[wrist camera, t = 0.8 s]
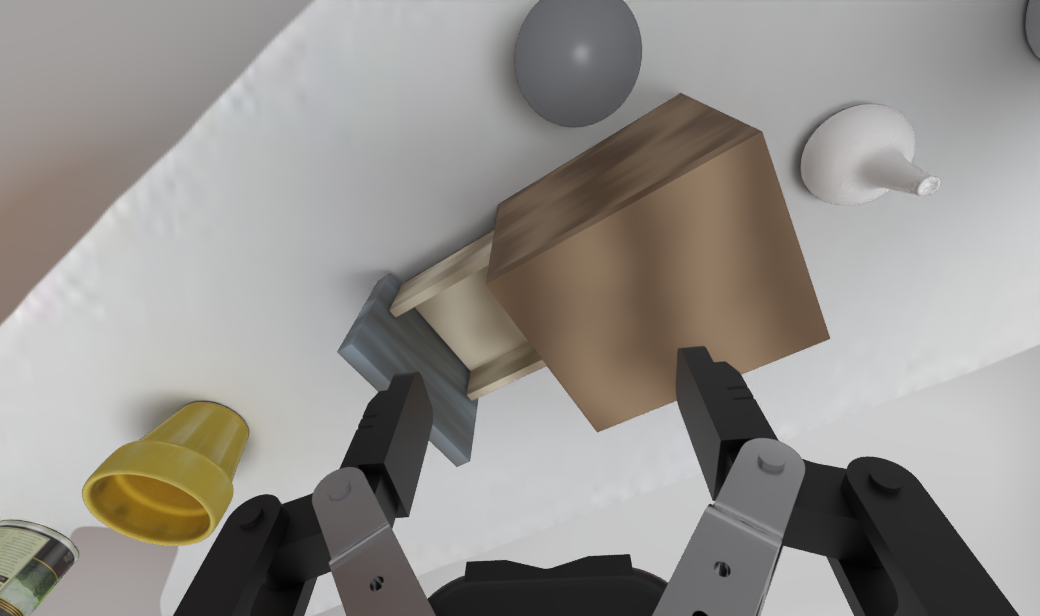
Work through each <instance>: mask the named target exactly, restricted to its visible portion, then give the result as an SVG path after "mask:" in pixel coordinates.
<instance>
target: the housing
mask: <svg viewBox="0 0 1040 616" xmlns="http://www.w3.org/2000/svg"><path fill="white" fill-rule="evenodd" d="M485 285H486V286H487V287H488V289H489V290H490V291H491V293H492V294H493V295H494V297H495V298H496V299H497V300H498V302H499V303H500V304H501V306H502V307H503V308H504V310H505V311H506V312H507V314H508V315H509V316H510V318H511V319H512V320H513V322H514V323H515V324H516V326H517V327H518V328H519V330H520V331H521V332H522V334H523V335H524V336H525V338H526V339H527V340H528V341H529V343H530V344H531V345H532V347H533V348H534V349H535V351H536V352H537V353H538V355H539V356H540V357H541V359H542V360H543V361H544V363H545V364H546V365H547V367H548V368H549V369H550V371H551V372H552V373H553V375H554V376H555V377H556V378H557V380H558V381H559V382H560V384H561V385H562V386H563V388H564V389H565V390H566V392H567V393H568V394H569V396H570V397H571V398H572V400H573V401H574V402H575V404H576V405H577V406H578V408H579V409H580V410H581V412H582V413H583V414H584V416H585V417H586V418H587V419H588V421H589V422H590V423H591V425H592V426H593V427H594V429H595V430H596V431H597V432H600V431H602V430H605V429H607V428H610V427H612V426H615V425H617V424H619V423H622V422H624V421H627V420H629V419H632V418H634V417H637V416H639V415H642V414H644V413H647V412H649V411H652V410H654V409H657V408H659V407H662V406H664V405H667V404H669V403H672V402H674V401H677V397H676V367H677V351H678V349H679V348H686V347H697V346H705V347H706V348H707V350H708V352H709V354H710V356H711V358H712V360H713V362H722V361H726V362H727V363H728V364H730V365H731V366H732V367H734V368H735V369H736V370H737V371H739V372H740V374H744V373H746V372H749V371H751V370H754V369H756V368H759V367H761V366H764V365H766V364H769V363H771V362H774V361H776V360H779V359H781V358H784V357H786V356H789V355H791V354H794V353H796V352H799V351H801V350H804V349H806V348H809V347H811V346H813V345H816V344H818V343H821V342H823V341H826V340H828V339H830V336H829V333H828V330H827V327H826V324H825V321H824V318H823V315H822V312H821V309H820V306H819V303H818V300H817V297H816V294H815V291H814V288H813V285H812V282H811V279H810V276H809V273H808V270H807V267H806V263H805V260H804V257H803V254H802V251H801V248H800V245H799V242H798V239H797V236H796V233H795V230H794V227H793V224H792V221H791V218H790V215H789V212H788V209H787V206H786V203H785V200H784V197H783V194H782V191H781V188H780V184H779V181H778V178H777V175H776V172H775V169H774V166H773V163H772V160H771V157H770V154H769V151H768V148H767V145H766V142H765V139H764V136H763V133H762V131H760V130H758V129H756V128H754V127H751V126H749V125H747V124H745V123H743V122H741V121H739V120H737V119H735V118H732V117H730V116H728V115H726V114H724V113H722V112H720V111H718V110H716V109H713V108H711V107H709V106H707V105H705V104H703V103H701V102H699V101H697V100H694V99H692V98H690V97H688V96H686V95H684V94H682V93H680V94H679V95H677V96H676V97H674V98H672V99H671V100H669V101H667V102H666V103H664V104H662V105H661V106H659V107H657V108H656V109H654V110H653V111H651V112H649V113H648V114H646V115H644V116H643V117H641V118H639V119H638V120H636V121H634V122H633V123H631V124H630V125H628V126H626V127H625V128H623V129H621V130H620V131H618V132H616V133H615V134H613V135H611V136H610V137H608V138H607V139H605V140H603V141H602V142H600V143H598V144H597V145H595V146H593V147H592V148H590V149H589V150H587V151H585V152H584V153H582V154H580V155H579V156H577V157H575V158H574V159H572V160H570V161H569V162H567V163H566V164H564V165H562V166H561V167H559V168H557V169H556V170H554V171H552V172H551V173H549V174H547V175H546V176H544V177H543V178H541V179H539V180H538V181H536V182H534V183H533V184H531V185H529V186H528V187H526V188H525V189H523V190H521V191H520V192H518V193H516V194H515V195H513V196H511V197H510V198H508V199H506V200H505V201H503V202H502V203H500V204H499V205H498V211H497V217H496V223H495V229H494V236H493V242H492V248H491V254H490V260H489V266H488V272H487V278H486V284H485Z"/></svg>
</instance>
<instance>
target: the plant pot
mask: <svg viewBox="0 0 1040 616" xmlns="http://www.w3.org/2000/svg"><path fill="white" fill-rule="evenodd" d="M248 435H249V431H248V427H247V425H246V423H245V422H244V420H243V419H242V418H241V417H240V416H239V415H238V414H237V413H235V412H234V411H232V410H231V409H229V408H227V407H225V406H222V405H219V404H216V403H212V402H194V403H190V404H188V405H186V406H184V407H183V408H181V409H180V410H179V411H177V412H176V413H175V414H173V415H172V416H171V417H169V418H168V419H167V420H165V421H164V422H163V423H161V424H160V425H159V426H157V427H156V428H155V429H153V430H152V431H151V432H149V433H148V434H147V435H145V436H144V437H143V438H141V439H140V440H139V441H135V442H131V443H128V444H126V445H123V446H121V447H120V448H118V449H117V450H116V451H115V452H113V453H112V454H111V455H110V456H109V457H108V458H107V459H106V460H105V461H104V462H103V463H102V464H101V465H100V466H99V467H98V468H97V470H96V471H95V472H94V473H93V474H92V475H91V476H90V477H89V478H88V480H87V481H86V483H85V484H84V487H83V489H82V497H83V501H84V503H85V505H86V507H87V508H88V510H89V511H90V512H91V514H92V515H93V516H94V517H96V518H97V519H98V520H99V521H100V522H102V523H103V524H105V525H106V526H108V527H109V528H111V529H113V530H115V531H117V532H118V533H121V534H123V535H125V536H128V537H130V538H133V539H136V540H140V541H143V542H147V543H152V544H158V545H167V546H182V545H190V544H194V543H198V542H200V541H202V540H204V539H206V538H207V537H209V536H210V535H211V534H212V533H213V531H214V530H215V528H216V527H217V525H218V523H219V522H220V520H221V519H222V517H223V515H224V513H225V512H226V510H227V508H228V506H229V504H230V502H231V500H232V497H233V484H232V480H233V478H234V475H235V472H236V469H237V466H238V463H239V461H240V458H241V455H242V452H243V449H244V447H245V444H246V441H247V439H248Z"/></svg>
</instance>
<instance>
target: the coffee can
mask: <svg viewBox="0 0 1040 616" xmlns="http://www.w3.org/2000/svg"><path fill="white" fill-rule="evenodd" d="M78 558H79V551H78V549H77V547H76V546H75V545H74V544H73V543H72V542H71V541H70V540H69V539H68V538H66V537H65V536H64V535H62V534H60V533H58V532H56V531H54V530H52V529H50V528H47V527H45V526H42V525H39V524H35V523H30V522H26V521H19V520H5V521H0V616H30V615H31V614H32V613H33V611H34V610H35V609H36V608H37V607H38V605H39V604H40V603H41V602H42V601H43V599H44V598H45V597H46V595H48V593H49V592H50V591H51V590H52V589H53V588H54V586H55V585H56V584H57V583H58V581H59V580H60V579H61V578H62V577H63V575H64V574H65V573H66V572H67V571H68V570H69V568H70V567H71V566H72V565H73V564H74V563H75V562H76V561H77V560H78Z"/></svg>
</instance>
